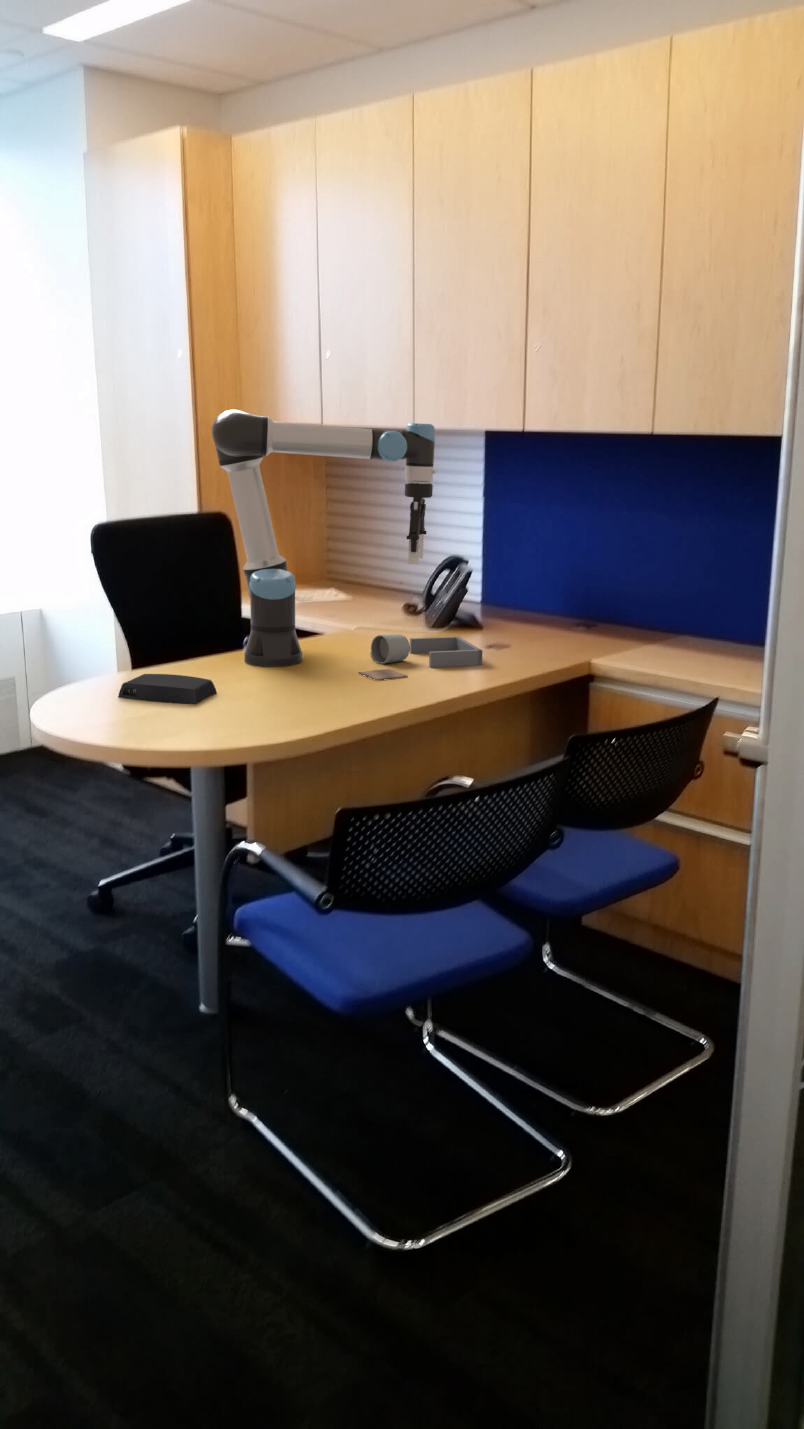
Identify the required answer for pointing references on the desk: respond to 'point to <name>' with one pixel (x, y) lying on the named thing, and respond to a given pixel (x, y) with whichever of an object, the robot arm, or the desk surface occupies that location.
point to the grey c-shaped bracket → (447, 651)
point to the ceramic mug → (389, 648)
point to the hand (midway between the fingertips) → (415, 561)
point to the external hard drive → (168, 689)
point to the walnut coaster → (383, 674)
